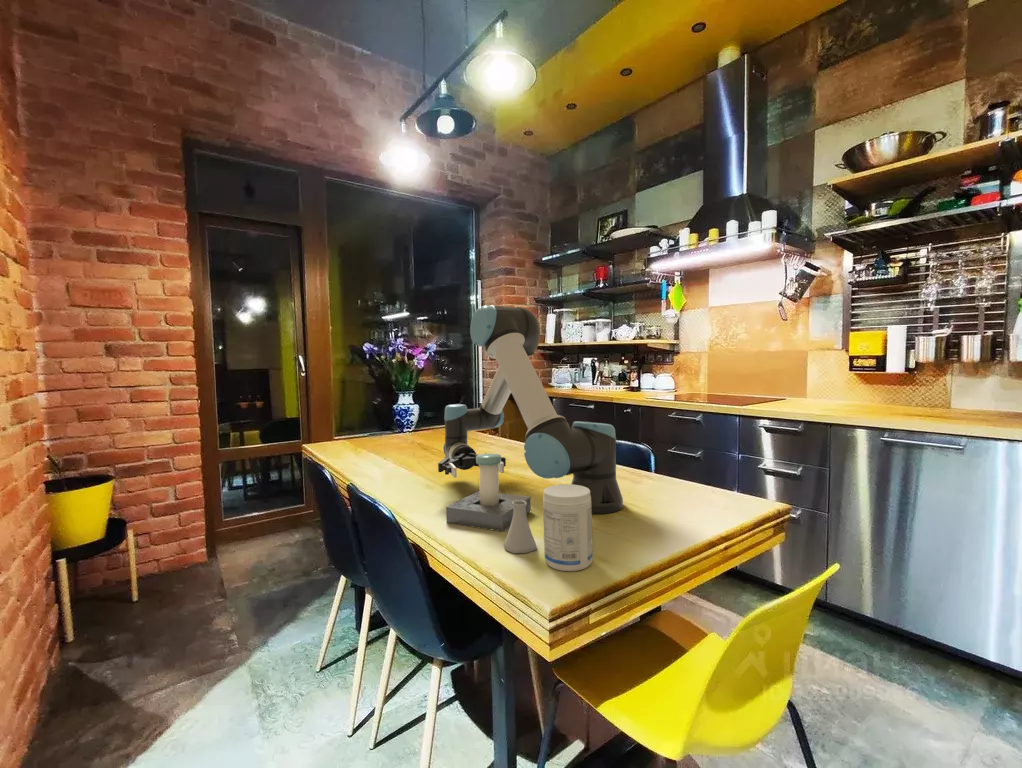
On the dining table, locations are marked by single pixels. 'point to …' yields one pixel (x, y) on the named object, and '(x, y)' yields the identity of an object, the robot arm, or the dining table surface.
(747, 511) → the dining table surface
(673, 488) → the dining table surface
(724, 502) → the dining table surface
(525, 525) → the flask
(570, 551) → the supplement tub
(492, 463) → the teal-capped white peg
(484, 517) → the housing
